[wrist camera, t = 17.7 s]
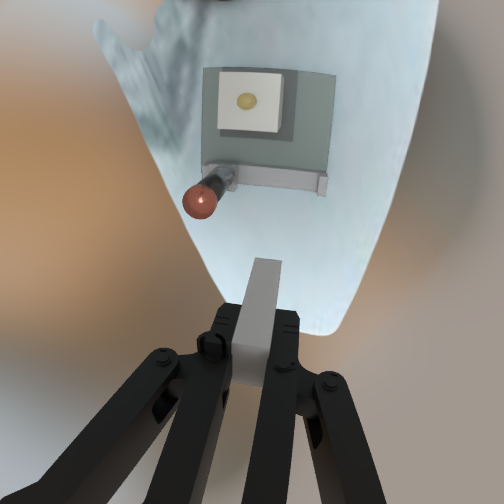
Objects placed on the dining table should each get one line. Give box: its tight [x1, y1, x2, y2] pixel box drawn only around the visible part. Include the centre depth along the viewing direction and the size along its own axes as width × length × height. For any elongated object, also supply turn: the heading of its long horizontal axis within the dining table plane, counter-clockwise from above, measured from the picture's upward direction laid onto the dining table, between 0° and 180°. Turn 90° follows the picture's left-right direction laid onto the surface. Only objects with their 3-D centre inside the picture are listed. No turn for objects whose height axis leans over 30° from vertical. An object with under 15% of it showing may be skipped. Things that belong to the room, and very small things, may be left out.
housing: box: [217, 72, 285, 133], centre depth 29 cm, size 6×6×9 cm
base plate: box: [201, 67, 336, 197], centre depth 34 cm, size 15×16×4 cm
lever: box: [182, 161, 238, 219], centre depth 32 cm, size 3×3×11 cm
